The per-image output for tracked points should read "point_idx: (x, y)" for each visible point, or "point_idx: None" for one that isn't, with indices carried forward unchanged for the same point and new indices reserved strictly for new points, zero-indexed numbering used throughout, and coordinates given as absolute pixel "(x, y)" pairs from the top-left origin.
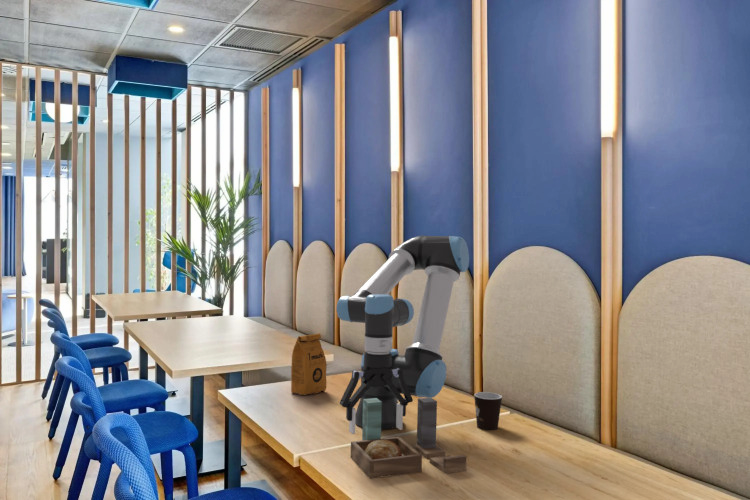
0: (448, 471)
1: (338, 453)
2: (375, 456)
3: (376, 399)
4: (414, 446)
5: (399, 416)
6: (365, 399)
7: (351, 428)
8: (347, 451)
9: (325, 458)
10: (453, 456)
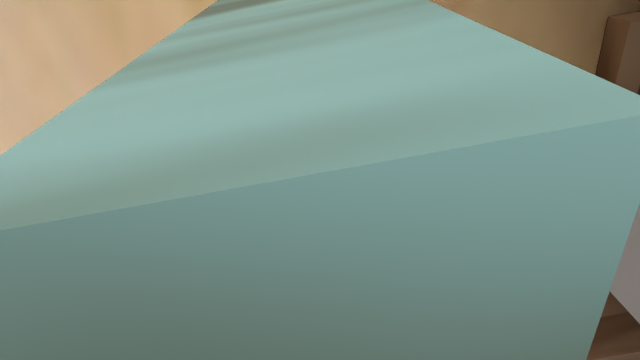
0: None
1: (68, 57)
2: None
3: (520, 322)
4: (617, 38)
5: (636, 298)
6: (18, 303)
7: None
8: (128, 23)
9: (4, 135)
10: (636, 352)
